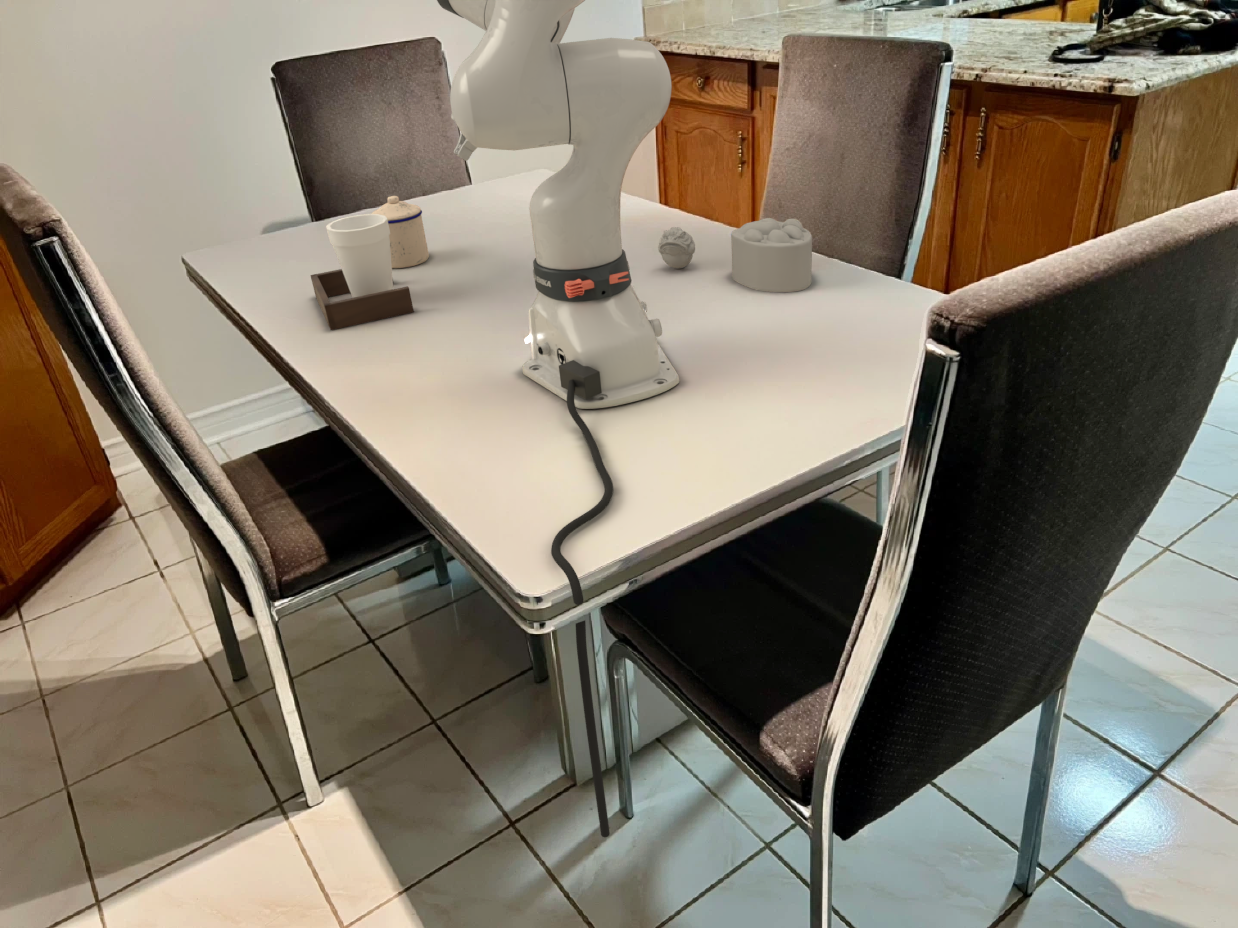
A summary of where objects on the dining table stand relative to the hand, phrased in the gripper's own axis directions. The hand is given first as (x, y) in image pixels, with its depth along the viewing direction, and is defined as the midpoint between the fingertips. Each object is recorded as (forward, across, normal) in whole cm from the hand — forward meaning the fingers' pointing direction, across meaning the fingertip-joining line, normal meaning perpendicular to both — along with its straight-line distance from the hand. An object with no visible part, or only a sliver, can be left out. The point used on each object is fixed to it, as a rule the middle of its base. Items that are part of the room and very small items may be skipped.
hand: (459, 157), depth 148 cm
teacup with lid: (+22, -20, +6) cm, 30 cm away
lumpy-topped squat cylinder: (-10, +29, +43) cm, 53 cm away
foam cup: (+27, -2, 0) cm, 27 cm away
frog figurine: (-4, +15, +36) cm, 39 cm away
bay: (+28, -1, -1) cm, 28 cm away
